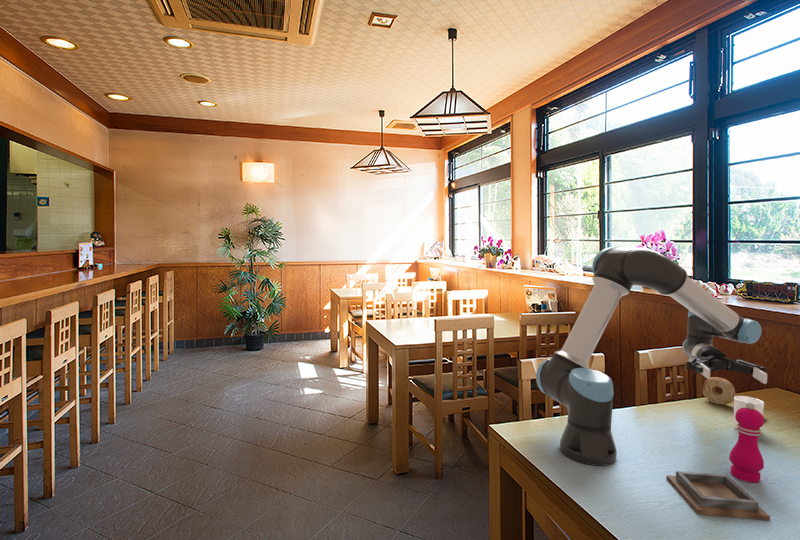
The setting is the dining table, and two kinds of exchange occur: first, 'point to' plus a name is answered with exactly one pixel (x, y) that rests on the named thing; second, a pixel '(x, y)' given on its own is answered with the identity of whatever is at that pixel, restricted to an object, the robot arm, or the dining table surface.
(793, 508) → the dining table surface
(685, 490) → the cruet board
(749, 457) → the pepper mill
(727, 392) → the stone disc
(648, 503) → the dining table surface
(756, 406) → the white cup
